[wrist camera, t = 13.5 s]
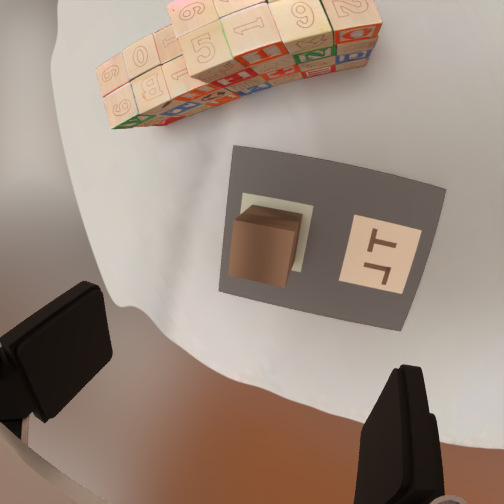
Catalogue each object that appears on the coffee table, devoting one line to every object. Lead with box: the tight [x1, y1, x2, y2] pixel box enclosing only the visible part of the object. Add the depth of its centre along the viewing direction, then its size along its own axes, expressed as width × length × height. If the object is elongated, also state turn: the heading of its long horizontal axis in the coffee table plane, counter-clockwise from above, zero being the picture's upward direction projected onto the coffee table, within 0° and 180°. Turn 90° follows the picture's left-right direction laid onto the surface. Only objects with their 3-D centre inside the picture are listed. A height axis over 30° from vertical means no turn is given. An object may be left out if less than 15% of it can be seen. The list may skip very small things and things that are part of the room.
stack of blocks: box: [96, 0, 383, 129], centre depth 21 cm, size 21×6×12 cm, turn 107°
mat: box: [219, 146, 446, 331], centre depth 31 cm, size 21×16×1 cm
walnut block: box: [228, 204, 303, 288], centre depth 29 cm, size 5×5×6 cm
